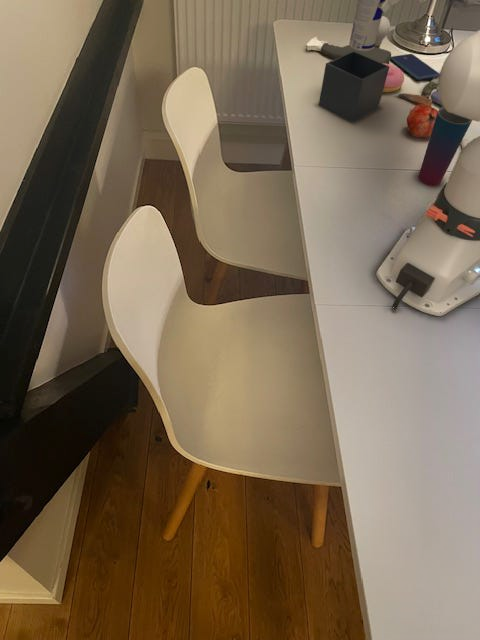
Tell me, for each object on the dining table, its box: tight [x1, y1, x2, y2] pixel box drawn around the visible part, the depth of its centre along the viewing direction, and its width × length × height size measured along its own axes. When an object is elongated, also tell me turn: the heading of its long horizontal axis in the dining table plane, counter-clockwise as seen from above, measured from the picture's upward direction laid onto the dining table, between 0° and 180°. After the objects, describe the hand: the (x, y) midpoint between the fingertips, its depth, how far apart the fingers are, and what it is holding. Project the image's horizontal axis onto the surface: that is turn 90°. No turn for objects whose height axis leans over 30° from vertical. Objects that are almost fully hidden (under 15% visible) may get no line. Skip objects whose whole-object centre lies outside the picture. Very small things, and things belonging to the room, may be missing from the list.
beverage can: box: [348, 0, 383, 52], centre depth 107 cm, size 6×6×15 cm
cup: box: [417, 106, 473, 186], centre depth 105 cm, size 7×7×15 cm
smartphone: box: [390, 53, 440, 81], centre depth 144 cm, size 8×1×15 cm
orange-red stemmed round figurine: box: [405, 104, 439, 138], centre depth 120 cm, size 7×7×10 cm
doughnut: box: [382, 63, 405, 93], centre depth 136 cm, size 11×11×4 cm
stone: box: [398, 92, 433, 107], centre depth 132 cm, size 9×2×3 cm
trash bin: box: [318, 51, 389, 123], centre depth 125 cm, size 11×11×11 cm
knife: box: [420, 77, 439, 98], centre depth 139 cm, size 20×1×3 cm
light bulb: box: [374, 15, 391, 48], centre depth 146 cm, size 6×6×10 cm
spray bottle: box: [305, 36, 392, 64], centre depth 146 cm, size 3×11×24 cm
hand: (369, 4), depth 106 cm, fingers closed on beverage can, 5 cm apart
